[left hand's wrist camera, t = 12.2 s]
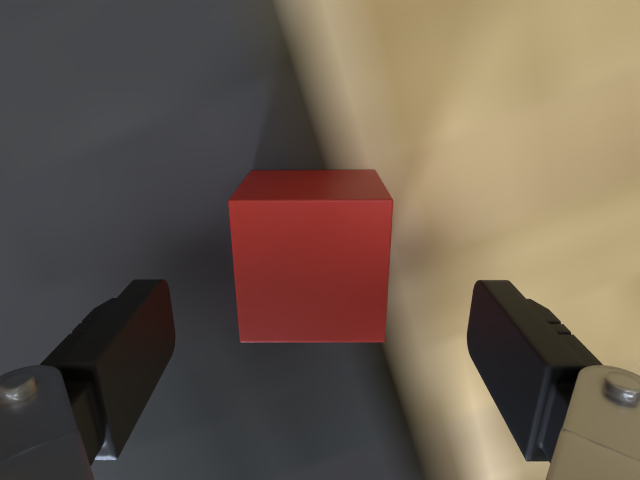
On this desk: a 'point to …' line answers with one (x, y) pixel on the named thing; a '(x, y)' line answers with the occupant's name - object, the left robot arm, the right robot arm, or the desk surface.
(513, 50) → the desk surface
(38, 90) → the desk surface
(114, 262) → the desk surface
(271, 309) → the brick
